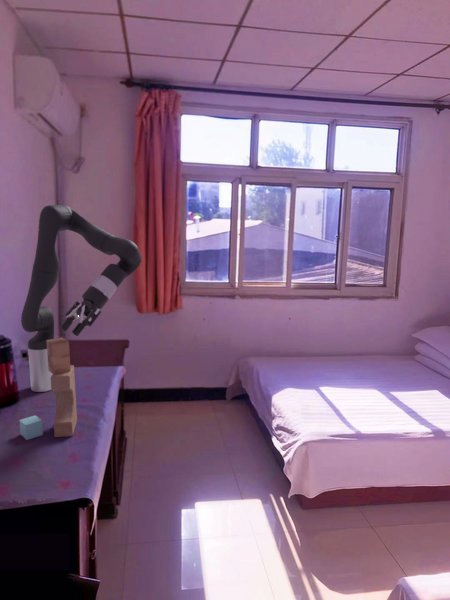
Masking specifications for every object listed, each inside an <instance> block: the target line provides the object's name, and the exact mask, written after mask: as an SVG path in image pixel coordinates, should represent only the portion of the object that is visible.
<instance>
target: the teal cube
mask: <svg viewBox="0 0 450 600" xmlns="http://www.w3.org/2000/svg"><path fill="white" fill-rule="evenodd" d="M18 422H19V434H20V436H22V438H24V439H25V440H26V441H28V440H32V439H34V438H38V437H40V436H43V434H44V433H43V421H42V419H41V418H39V417H38V416H37V415H31V416H29V417H25V418H22V419H19V421H18Z"/></svg>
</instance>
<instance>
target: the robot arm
mask: <svg viewBox="0 0 450 600" xmlns="http://www.w3.org/2000/svg"><path fill="white" fill-rule="evenodd" d="M62 231H71V232H73V233H77V235H78V234H79V235H80V236H82V238H83V239H84V240H85V241H86V242H87V243H88V245H90V246H91V247H92V248H94V249H96V250H97V251H99V252H101V253H103V254H104V255H108V256H114V255H115V256H117V257H118V258H119V261H118V262H117V263H116V264H115V263H110V264H108V265H107V266H106V267H105V268H104V269H103V271H102V272H101V273H100V274H99V275H98V277H96V278H95V279H94V281H92V282H91V284H90V286H89V287H88V288H87V289H86V290H85V291H84V293H83V294H82V295H81V297H82V299H83V301H81V302H79V301H78V300H77V301H75V302H74V304H73V305H72V306H71V307H70V309H68V311H67V312H65V316H66V318H65V320H64V321H63V322H62V324H61V325H60V326H59V328H60V329H62V331H65V332H66V331H67V330H68V329H69V328H70V327H71V325H72V324H73V323H74V322H75V321H76V320H79V322H78V323H77V324H76V325H75V327H74V328H73V329H72V330H71V334H73V335H74V336H76V337H78V336H79V335H80V334H81V332H82V331H83V330H84V329H85V328H86V327H88V326H89V327H91V326H92V325H93V324H94V323H95V321H96V319H97V318H98V317H99V316H100V315H101V313H102V311H101V310H102V309H103V308H104V306H106V305H107V303H108V302H109V300H110V299H111V297H113V296H114V294H115V292H116V290H117V289H118V288H119V286H121V284H122V282H123V281H124V280H125V279H126V278H128V277H129V276H130V275H132V274H133V273H135V271H136V270H137V269H138V268H139V267H140V265H141V263H142V256H141V253H140V249H139V247H138V245H137V244H136V243H135V242H134V241H132V240H130V239H128V238H124V237H120V236H115V235H114V234H112V233H110V232H108V231H106V230H104V229H102V228H100V227H98V226H97V225H95V224H94V223H92V222H91V221H89V220H88V219H86V218H85V217H84V216H82V215H81V214H80V213H78V212H77V211H76V210H75V209H73V208H72V207H70V206H69V205H66V204H50V205H46V206H44V207H43V208H42V209H41V211H40V214H39V220H38V232H37V233H38V234H37V244H36V248H35V256H34V262H33V264H32V265H33V266H32V269H31V270H32V271H31V277H30V283H29V286H28V287H29V288H28V291H27V296H26V299H25V302H24V305H23V309H22V312H21V317H20V319H21V320H20V321H21V322H20V323H21V327H22V329H23V330H24V331H25V332H26V333H35V332H36V333H35V335H34V336H33V337H31V338H30V339H29V340H28V341H27V349H28V350H27V351H28V362H29V363H28V365H29V379H30V390H31V391H32V392H35V393H36V392H37V393H43V392H49V391H51V376H52V374H53V373H51V372H49V371H48V356H47V340H51V339H55V316H54V312H53V310H52V309H51V308H50V307H49V306H48V305H43V306H42V303H43V301H44V300H45V298H46V296H48V295H49V293H50V292H51V291H52V289H53V288H54V287H55V286H56V284H57V282H58V279H59V273H60V268H61V262H60V258H59V255H58V252H57V250H56V249H57V248H56V243H57V242H56V241H57V236H58V235H59V234H58V233H59V232H62Z"/></svg>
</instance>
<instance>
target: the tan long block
mask: <svg viewBox="0 0 450 600" xmlns="http://www.w3.org/2000/svg"><path fill="white" fill-rule="evenodd" d="M47 356H48V371H49V372H51V373H53V374H54V375H57V374H61V373H65V372H70V371H71V369H70V365H71V354H70V341H69V339H66V338H64V337H57V338H54V339H51V340H47Z"/></svg>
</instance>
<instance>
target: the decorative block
mask: <svg viewBox="0 0 450 600" xmlns="http://www.w3.org/2000/svg"><path fill="white" fill-rule="evenodd" d="M70 369H71V371H70V372H65V373H61V374H57V375H54V374H52V376H51V390H50V391H51V392H54V393H53V394H54V396H55V397H54V398H55V413H54V414H55V415H54V422H53V436H54V437H55V438H56V437H57V438H67V437H73V435H74V433H75V429H76V425H77V422H78V415H77V413H78V411H77V399H76V397H77V395H76V380H75V379H76V378H75V377H76V376H75V366H74V365H73V364H70Z"/></svg>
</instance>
